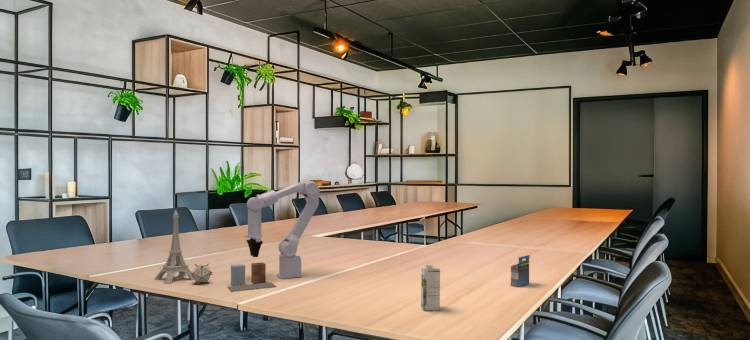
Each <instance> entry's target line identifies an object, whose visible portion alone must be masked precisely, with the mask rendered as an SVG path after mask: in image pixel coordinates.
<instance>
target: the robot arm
mask: <svg viewBox="0 0 750 340" xmlns="http://www.w3.org/2000/svg"><path fill="white" fill-rule="evenodd" d="M320 191H321V190H320V187H319V185H318V183H317V182H315V181H309V180H304V181H302V182H301V181H299V182H297V183H294V184H292V185H291V184H290V185H289V186H287V187H284V188H282V189H280V190H278V191H275V190H273V189H272V190H270V189H268V190H266V192H264V193H261V194H256V195H255V197H253V196H252V197H250V198H249V199H248V200H247V202H246V207H247V234H246V235H244V237H245V238H247V239H246V243H247V244H248V248H249V253H250V256H251V257H252V258H259V254H260V250H261V246H262V244H263V242H264V241H263V240H262V236H263V235H262V209H263V208H266V207H268V206H271V205H273V204H277V203H278V202H279V200H280V199H281V198H283V197H286V196H290V195H292V194H296V193H298V194H299V193H300V194H302V195H303V196H304V199H305V202H306V203H305V205H304V207H303V209H302V210H301V212H300V214H299V216H298V218H297V219H296V221H295V223H294V224H293V226H292V228H291V229H290V231H289V233H288V234H287V235H286V236H285V238H284V239H283V240H281V241H280V242H279V244H278V251H279V252H280V254H279V256H278V257H279V258H278V259H279V260H278V261H279V262H278V264H279V265H278V266H279V267H278V268H279V269H278V270H279V272H278V273H277V274H276V277H278V278H280V279H282V280H283V279H291V278H301V277H302V276H303V275H302V257H301V256H300V255H297V251H298V246H299V244H300V238H301V237H302V235H303V234H304V231H305V230H306V228H307V227H308V225H309V223H310V221H311V219H312V218H313V216H314V214H315V212H316V211H317V208H318V207H319V204H320Z"/></svg>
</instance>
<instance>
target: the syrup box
mask: <svg viewBox="0 0 750 340" xmlns="http://www.w3.org/2000/svg"><path fill="white" fill-rule="evenodd" d="M420 279H421V282H420V283H421V284H420V285H421V286H420V287H421V288H420V307H421V308H422V310H423V311H424V310H432V311H440V304H441V303H440V302H441V301H440V300H441V268H440V267H439V266H437V265H433V264H432V265H431V264H426V265H421V278H420Z"/></svg>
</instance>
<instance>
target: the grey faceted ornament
mask: <svg viewBox="0 0 750 340" xmlns="http://www.w3.org/2000/svg"><path fill="white" fill-rule="evenodd" d="M194 265H195V268H194V270H193V271H192V273H191V274H193V275H191V276H193V277H194V279H195V280H194V281H195V283H194V285H197V283H198V284H199V283H207V285H208V284H209V280H210V277H211V276H212V275H213V271H211V270H210V268H209V263H207V264H204V265H203V264H202V265H197V264H196V263H195V264H194Z"/></svg>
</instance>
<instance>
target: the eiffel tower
mask: <svg viewBox="0 0 750 340" xmlns="http://www.w3.org/2000/svg"><path fill="white" fill-rule="evenodd" d="M179 219H180V216H179V213H178V210H176V209H175V210H174V213H173V214H172V220H173V225H172V226H173V227H172V239H171V246H170V250H169V251H168V253H169V255H168V258H167V259H166V262H165V264H163V265H162V268H161V269H160V271H159V272H158V273H157V275H156V276H155V277H154V278H153V280H155V281H159V280H163V277H164V275H165V274H166V278H165V280H164V282H163V284H165V285H170V284H173V279H174V276H175V275H176V273H178V276H179V277H186V276H188V280H190V281H195V279H194V277H193V276H191V275H193V274H191V273H193V271H191V270H190V268H189V264H187V263H186V261H185V259H184V257H183V254H182V253H183V250H181V241H180V235H179Z"/></svg>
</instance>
